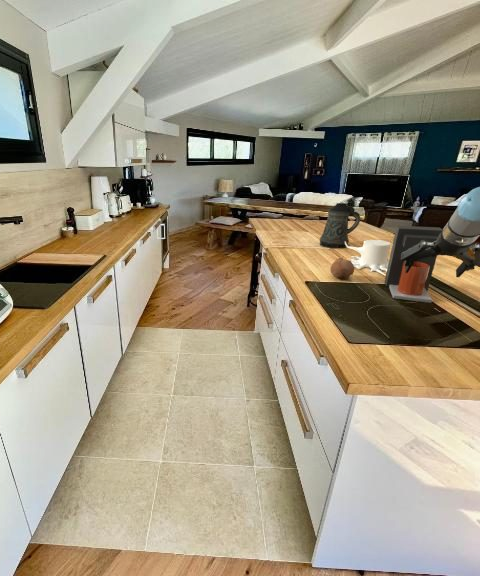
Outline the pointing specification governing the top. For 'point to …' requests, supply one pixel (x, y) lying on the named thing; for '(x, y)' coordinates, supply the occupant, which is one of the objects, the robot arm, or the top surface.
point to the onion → (342, 268)
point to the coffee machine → (402, 242)
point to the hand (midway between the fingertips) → (431, 271)
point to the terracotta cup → (413, 279)
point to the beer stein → (338, 226)
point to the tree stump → (372, 255)
